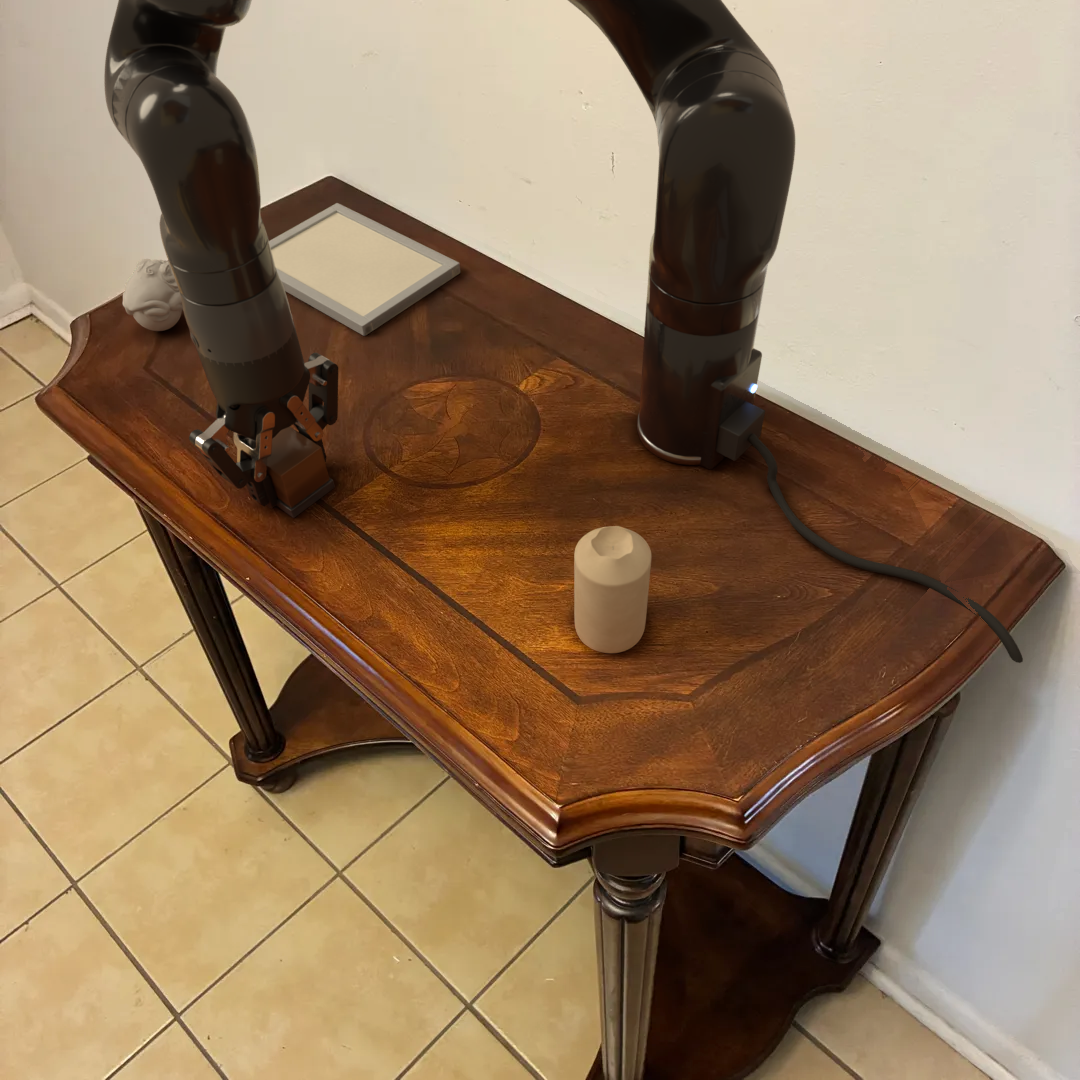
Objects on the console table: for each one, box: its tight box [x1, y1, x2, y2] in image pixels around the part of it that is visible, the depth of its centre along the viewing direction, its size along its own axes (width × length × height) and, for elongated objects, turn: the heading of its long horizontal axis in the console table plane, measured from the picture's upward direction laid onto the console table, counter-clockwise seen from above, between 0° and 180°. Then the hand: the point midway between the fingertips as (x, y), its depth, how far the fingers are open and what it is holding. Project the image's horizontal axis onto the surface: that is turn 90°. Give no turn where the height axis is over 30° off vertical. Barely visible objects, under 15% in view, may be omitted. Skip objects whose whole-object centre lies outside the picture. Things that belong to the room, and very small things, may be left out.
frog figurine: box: [122, 258, 184, 332], centre depth 102 cm, size 6×7×7 cm
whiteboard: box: [269, 202, 461, 337], centre depth 109 cm, size 20×14×1 cm
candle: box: [573, 525, 652, 654], centre depth 73 cm, size 6×6×10 cm
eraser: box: [267, 426, 336, 519], centre depth 86 cm, size 6×5×5 cm
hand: (291, 484), depth 88 cm, fingers closed on eraser, 4 cm apart
